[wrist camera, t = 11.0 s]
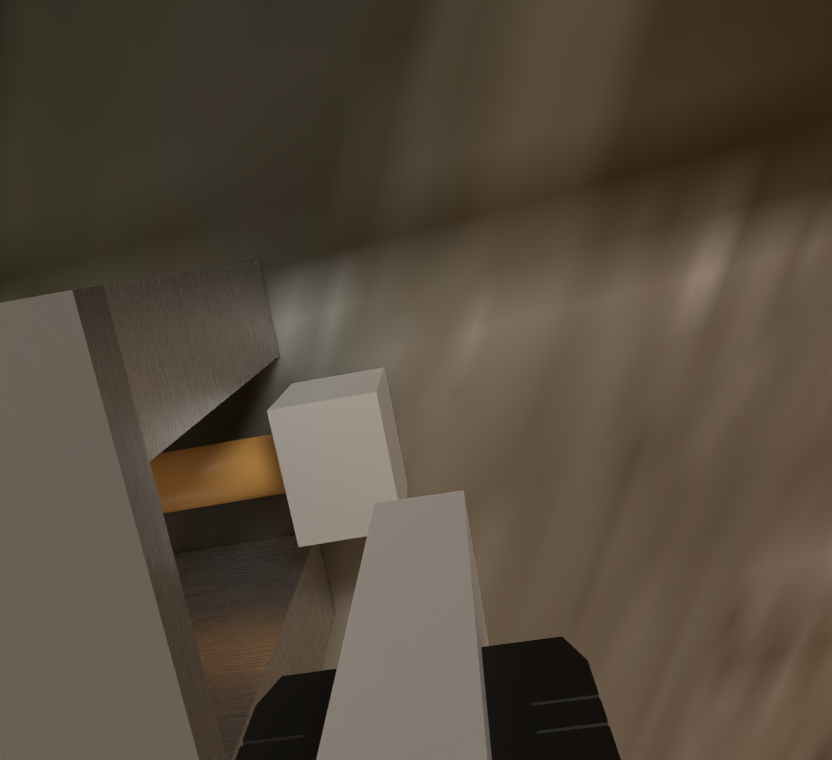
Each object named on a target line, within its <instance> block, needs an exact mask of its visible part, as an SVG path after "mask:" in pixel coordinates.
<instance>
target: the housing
mask: <svg viewBox="0 0 832 760" xmlns="http://www.w3.org/2000/svg"><path fill="white" fill-rule="evenodd" d="M279 355H280V354H279V350H278V345H277V340H276V336H275V331H274V326H273V322H272V317H271V312H270V308H269V303H268V298H267V294H266V289H265V284H264V280H263V275H262V270H261V266H260V261H259V260H255V261H249V262H243V263H237V264H230V265H224V266H218V267H212V268H206V269H200V270H193V271H187V272H181V273H175V274H169V275H163V276H156V277H150V278H144V279H138V280H132V281H126V282H119V283H113V284H107V285H101V286H95V287H88V288H82V289H76V290H70V291H65V292H59V293H53V294H48V295H42V296H36V297H31V298H25V299H19V300H14V301H8V302H2V303H0V760H235V758H236V756H237V753H238V750H239V748H240V746H243V737H244V735H245V732H246V729H247V727H248V724H249V721H250V719H251V716H252V713H253V711H254V708H255V706H256V705H257V703H258V702H259V701H260V700H261V699H262V698H263V697H264V696H265V694H266V693H267V692H268V691H269V690H270V689H271V688H272V687H273V685H274V684H275V683H276V682H277V681H278V680H279V679H280V678H281V676H286V675H293V674H301V673H309V672H317V671H321V667H322V663H323V659H324V655H325V651H326V647H327V643H328V639H329V635H330V631H331V627H332V623H333V619H334V615H335V610H334V606H333V601H332V597H331V592H330V587H329V583H328V578H327V573H326V569H325V564H324V559H323V555H322V550H321V545H320V544H315V545H309V546H303V547H298V543H297V539H296V535H290V536H284V537H277V538H271V539H265V540H258V541H252V542H245V543H239V544H232V545H226V546H219V547H213V548H206V549H200V550H193V551H187V552H180V553H174V554H173V550H172V546H171V543H170V539H169V535H168V531H167V527H166V523H165V519H164V516H163V512H162V508H161V504H160V500H159V496H158V493H157V489H156V485H155V481H154V477H153V473H152V470H151V466H150V461H151V460H152V459H153V458H155V457H156V456H157V455H158V454H160V453H161V452H162V451H163V450H164V449H166V448H167V447H168V446H169V445H171V444H172V443H173V442H174V441H175V440H177V439H178V438H179V437H180V436H182V435H183V434H184V433H185V432H186V431H188V430H189V429H190V428H191V427H193V426H194V425H195V424H196V423H197V422H199V421H200V420H201V419H202V418H204V417H205V416H206V415H207V414H208V413H210V412H211V411H212V410H213V409H215V408H216V407H217V406H218V405H219V404H221V403H222V402H223V401H224V400H226V399H227V398H228V397H229V396H230V395H232V394H233V393H234V392H235V391H237V390H238V389H239V388H240V387H241V386H243V385H244V384H245V383H246V382H248V381H249V380H250V379H251V378H252V377H254V376H255V375H256V374H257V373H259V372H260V371H261V370H262V369H263V368H265V367H266V366H267V365H268V364H270V363H271V362H272V361H273V360H274V359H276V358H277V357H278V356H279Z"/></svg>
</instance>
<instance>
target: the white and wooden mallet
mask: <svg viewBox="0 0 832 760" xmlns="http://www.w3.org/2000/svg"><path fill="white" fill-rule="evenodd" d="M267 414H268V418H269V422H270V426H271V431H272V434H269V435H263V436H257V437H251V438H246V439H240V440H234V441H228V442H222V443H217V444H211V445H205V446H199V447H193V448H188V449H182V450H176V451H170V452H164V453H160V454H158V455H157V456H156V457H155V458H153V459H152V460H151V461H150V466H151V470H152V473H153V477H154V481H155V485H156V489H157V493H158V496H159V500H160V504H161V508H162V512H163V514H164V513H170V512H176V511H182V510H188V509H194V508H200V507H205V506H211V505H217V504H223V503H229V502H235V501H241V500H247V499H253V498H259V497H265V496H271V495H277V494H283V493H286V495H287V500H288V504H289V508H290V513H291V517H292V521H293V526H294V530H295V534H296V539H297V543H298V547H303V546H309V545H315V544H322V543H328V542H334V541H340V540H346V539H352V538H358V537H365V536H367V534H368V530H369V526H370V521H371V517H372V512H373V508H374V504H375V503H379V502H386V501H393V500H400V499H407V489H408V484H407V479H406V474H405V469H404V464H403V458H402V453H401V448H400V443H399V438H398V433H397V428H396V422H395V417H394V412H393V407H392V402H391V397H390V392H389V387H388V381H387V376H386V371H385V367H382V368H376V369H371V370H365V371H359V372H354V373H348V374H342V375H337V376H331V377H325V378H320V379H314V380H308V381H303V382H297V383H292V384H291V385H290V386H289V387H288V388H287V389H286V390H285V391H284V393H283V394H282V395H281V396H280V397H279V398H278V399H277V400H276V401H275V402H274V403H273V405H272V406H271V407H270V408H269V409H268V410H267Z"/></svg>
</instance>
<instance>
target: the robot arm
mask: <svg viewBox="0 0 832 760" xmlns="http://www.w3.org/2000/svg"><path fill="white" fill-rule="evenodd" d="M235 760H621V759H620V756H619V753H618V750H617V747H616V744H615V741H614V738H613V735H612V732H611V729H610V727H609V726H608V721H607V717H606V714H605V711H604V708H603V705H602V702H601V699H599V694H598V690H597V687H596V684H595V681H594V678H593V675H592V672H591V669H590V666H589V663H588V660H587V659H585V658H584V657H583V656H582V655H581V654H580V653H579V652H578V651H577V650H576V649H575V648H574V647H573V646H571V645H570V644H569V643H568V642H567V641H566V640H565V639H564V638H563V637H555V638H547V639H540V640H532V641H524V642H517V643H509V644H501V645H494V646H489V644H488V635H487V629H486V623H485V617H484V611H483V605H482V599H481V593H480V587H479V580H478V574H477V568H476V562H475V556H474V550H473V544H472V538H471V532H470V526H469V519H468V513H467V507H466V501H465V495H464V490H462V491H455V492H448V493H441V494H434V495H427V496H420V497H414V498H407V499H400V500H393V501H386V502H379V503H375V504H374V508H373V512H372V517H371V521H370V526H369V530H368V534H367V539H366V543H365V547H364V552H363V556H362V561H361V565H360V569H359V574H358V578H357V583H356V587H355V591H354V596H353V600H352V605H351V609H350V613H349V618H348V622H347V627H346V631H345V635H344V640H343V644H342V649H341V653H340V657H339V662H338V666H337V669H332V670H324V671H317V672H309V673H301V674H293V675H286V676H281V678H280V679H279V680H278V681H277V682H276V683H275V684H274V685H273V687H272V688H271V689H270V690H269V691H268V692H267V693H266V694H265V696H264V697H263V698H262V699H261V700H260V701H259V702H258V703H257V705H256V706H255V708H254V711H253V713H252V716H251V719H250V721H249V724H248V727H247V729H246V732H245V735H244V737H243V746H240V748H239V750H238V753H237V756H236V758H235Z"/></svg>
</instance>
